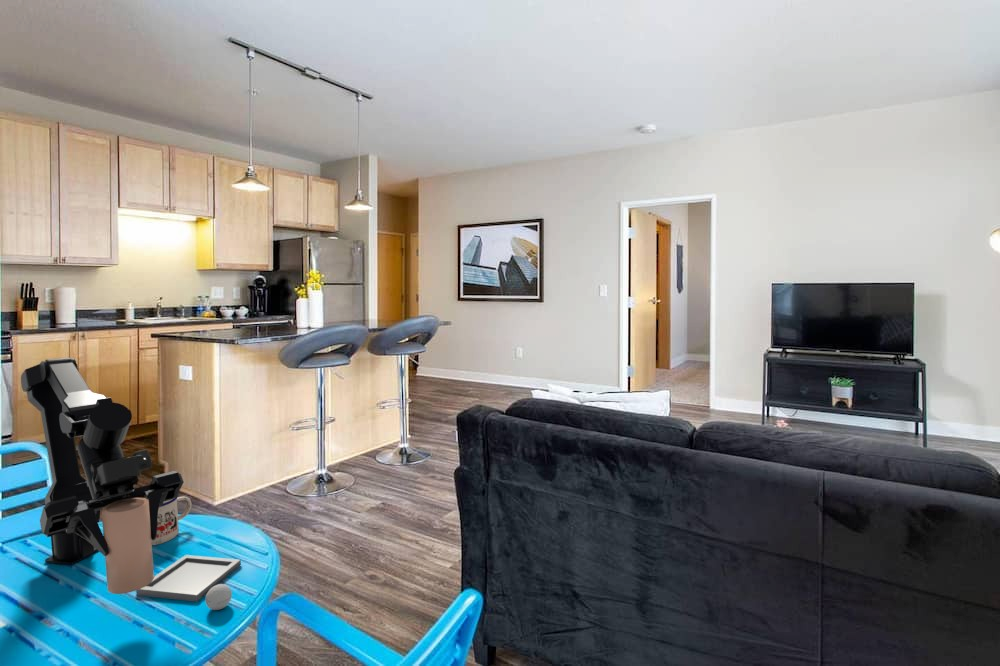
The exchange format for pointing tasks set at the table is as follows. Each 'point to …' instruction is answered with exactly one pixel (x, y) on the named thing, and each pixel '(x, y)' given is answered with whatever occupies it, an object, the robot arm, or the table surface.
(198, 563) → the charcoal tray
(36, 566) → the table surface
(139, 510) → the terracotta cup
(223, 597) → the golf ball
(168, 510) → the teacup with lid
